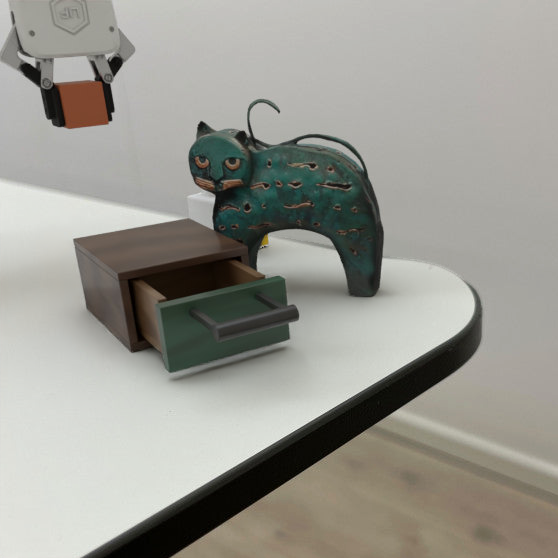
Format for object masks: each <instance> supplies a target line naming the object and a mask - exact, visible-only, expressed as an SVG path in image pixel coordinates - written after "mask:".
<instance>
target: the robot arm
mask: <svg viewBox="0 0 558 558" xmlns="http://www.w3.org/2000/svg"><path fill="white" fill-rule="evenodd" d="M7 2H8V8H9V16H10V22H11V23H10V24H11V29H10V31H9V33H8V35H7V37H6V39H5V41H4V43H3V45H2V46H1V47H2V48H1V50H0V62H1V63H3V64H4V65H6V66H8V68H11V69H13V70H15V71H16V72H18V73H20V74H21V75H23V76H24V77H25V78H26V79H28V80H29V81H30V82H31V83H33V84H34V85H35V86H36V87H37V88H39V91H40V95H41V101H42V105H43V110H44V115H45V118H46V120H47V121H50V120H51V121H50V122H51V124H52V126H53V127H56V128H64V126H65V125H66V123H65V118H64V113H63V108H62V103H61V98H60V93H59V90H58V89H57V88H55V84H54V83H55V82H54V67H55V65H54V64H55V61H54V60H55V59H63V58H79V57H86V59H87V62H88V64H89V66H90V69H91V72H92V73H93V75H94V78H93V79H94V80H93V81H99V82H102V87H103V93H104V99H105V104H106V110H107V116H108V122H109V123H110V122H113V114H114V113H115V111H116V108H115V102H114V96H113V91H112V90H113V89H112V85H111V84H112V83H113V82H114V79H115V77H116V76H117V74H118V73H119V71H120V70H121V69H122V67H123V65H124V64H125V63H126V62H128V61H129V59H130V58H131V57H132V56H133V55H134V54H135V52H136V47H135V45H134V44H133V43H132V42H131V41H130V40H129V38H128V37H127V36H126V35H125V34H124V32H122V30H121V29H120V27H119V26H118V21H117V17H116V12H115V9H114V8H115V7H114V5H113V0H8V1H7ZM19 54H20V55H22V56H24V57H26V58H27V57H28V58H32V59H34V65H32V64H31V63H29V62H27V61H25V60H24V59H22V58H21V57H20V56H19ZM110 54H112V55H110ZM106 55H110V56H109V57H108V58H107V57H106Z"/></svg>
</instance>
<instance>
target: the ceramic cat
mask: <svg viewBox="0 0 558 558" xmlns="http://www.w3.org/2000/svg"><path fill="white" fill-rule="evenodd" d="M257 104H266V105H268V106H270V107H271V108H272V109H274V110H275V111H276V112H277V113H278V114H280V113H281V110H280V108H279V106H278V105H276V103H275V102H273V101H271V100H270V99H267V98H257V99H255V100H254V101H252V102H251V103H250V104H249V106H248V107H247V113H246V120H247V122H246V123H247V130H248V133H249V134H248V133H247V132H246V130H240V129H236V128H223V129H220V130H215V129H214V128H212V127H211V126H210V125H209V124H208V123H207V122H205V121H203V120H199V123H198V124H197V127H196V135H195V141H194V142H193V144H192V145H191V146H190V148H189V151H188V155H187V157H188V158H187V159H188V161H187V162H188V166H189V171H190V174H191V177H192V181H193V182H194V185H196V186H197V187H199V188H200V189H201V188H202V189H203V190H205V191H208V192H211V193H213V194H214V195H215V203H214V208H213V216H212V220H213V228H214V231H217V232H219V233H221V234H223V235H225V236H227V237H229V238H231V239H233V240H235V241H237V242H239V243H241V244H243V245H245V246H247V247H248V256H249V266H250V268H252V269H254V270H256V271H258V256H259V255H258V254H259V251H260V249H261V248H260V246H261V243H262V241H263V239H264V237H265V235H267V234H268V235H269V234H271V233H276V232H280V231H286V230H302V231H308V232H312V233H315V234H319V235H321V236H324V237H325V238H327V239H329V240H330V241H331V243H332V245H333V247H334V248H335V251H336V252H337V254H338V256H339V260H340V262H341V264H342V267H343V270H344V273H345V278H346V286H347V292H348V294H349V296H351V297H352V296H353V297H366V298H367V297H373V296H375V294H376V293H377V291H378V290H379V289H380V288H381V287H380V286H381V275H382V265H383V258H384V257H383V255H384V243H385V242H384V241H385V231H384V226H383V223H382V218H381V212H380V211H381V209H380V206H379V202H378V198H377V196H376V193H375V190H374V187H373V184H372V182H371V180H370V178H369V173H368V169H367V166H366V164H365V161H364V158H362V157H363V156H362V155H361V154H360V153H359V152H358V150H357V149H356V148H355V147H354V146H353V145H352V144H351V143H349V142H348V141H347V140H343V139H341V138H339V137H337V136H333V135H329V134H321V133H307V134H304V135H300V136H297V137H294V138H292V139H289V140H285V141H283V142H280V143H277V144H269V143H267V142H264V141H263V140H260V139H258V138H256V137H255V135H254V132H253V129H252V125H251V120H250V117H251V116H250V115H251V110H252V109H253V107H254V106H256V105H257ZM306 139H321V140H325V141H328V142H333V143H337V144H340V145H342V146H343V147H344V148H346V149H347V150H349V151H350V152H351V153H352V154H353V155H354V156H355V157H356V158H357V160H358V161H359V162H360V165H361V166H362V167H361V166H360V165H359V164H358V163H357V162H356V161H355V160H354V159H353V158H351V157H350V156H348V155H347V154H346V153H344V151H343V152H342V151H341V150H339V149H337V148H333V147H329V146H325V145H322V144H314V143H298V142H301V141H303V140H306ZM203 190H202V191H203ZM259 248H260V249H259Z"/></svg>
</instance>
